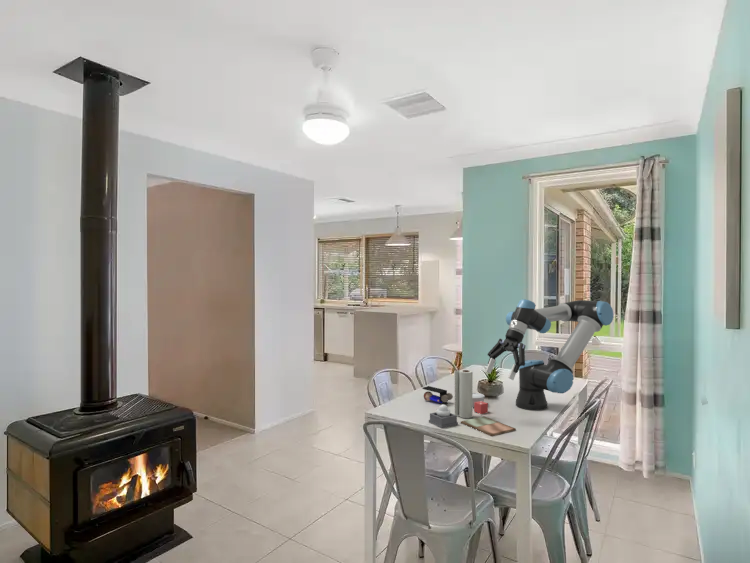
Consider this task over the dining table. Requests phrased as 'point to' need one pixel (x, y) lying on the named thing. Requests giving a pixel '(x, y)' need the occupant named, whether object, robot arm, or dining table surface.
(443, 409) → the pop dome
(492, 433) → the game board
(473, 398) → the ramekin
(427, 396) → the figurine character
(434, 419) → the button base
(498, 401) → the dining table surface
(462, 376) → the paper towel roll
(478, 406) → the red die
